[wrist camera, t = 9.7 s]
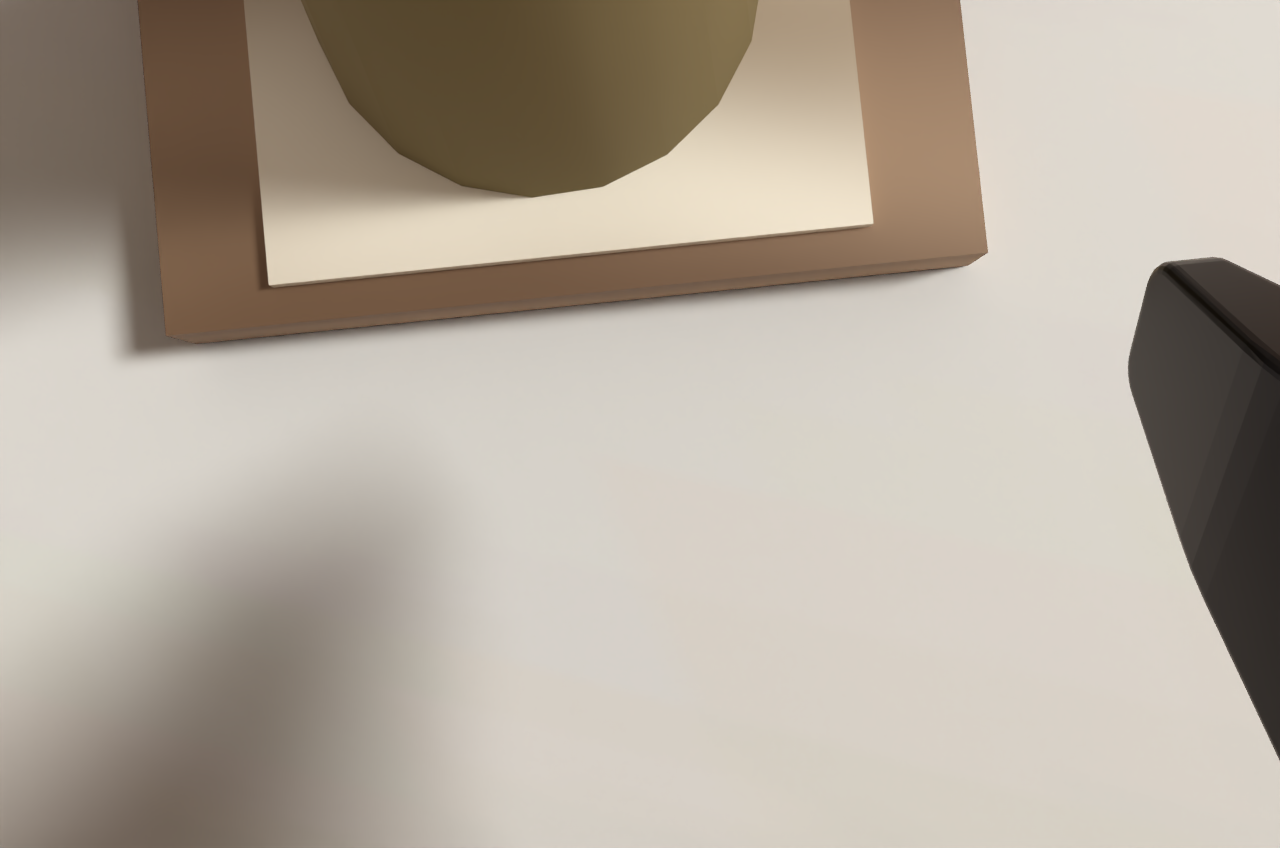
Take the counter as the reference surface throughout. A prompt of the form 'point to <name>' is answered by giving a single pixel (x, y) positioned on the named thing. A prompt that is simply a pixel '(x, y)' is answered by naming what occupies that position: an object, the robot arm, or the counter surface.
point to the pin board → (559, 223)
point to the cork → (533, 82)
